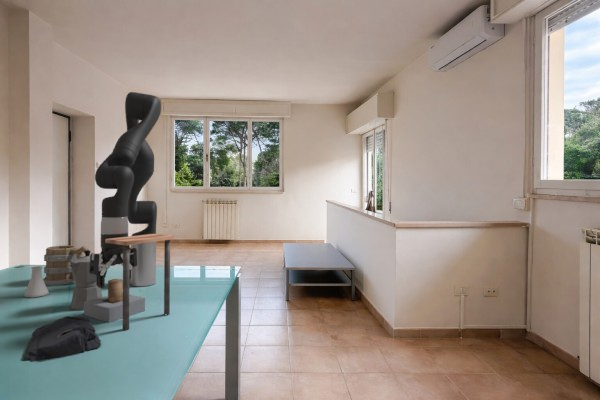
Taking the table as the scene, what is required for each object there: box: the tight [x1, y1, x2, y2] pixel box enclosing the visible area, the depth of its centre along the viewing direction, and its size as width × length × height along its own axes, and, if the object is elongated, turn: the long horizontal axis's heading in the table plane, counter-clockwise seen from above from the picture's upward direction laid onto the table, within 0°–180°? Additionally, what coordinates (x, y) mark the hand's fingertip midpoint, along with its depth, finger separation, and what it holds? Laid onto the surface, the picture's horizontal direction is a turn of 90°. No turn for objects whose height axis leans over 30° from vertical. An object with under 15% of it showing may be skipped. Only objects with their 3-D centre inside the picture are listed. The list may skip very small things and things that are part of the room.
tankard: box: [43, 244, 89, 286], centre depth 148 cm, size 20×13×15 cm, turn 68°
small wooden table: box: [105, 233, 175, 331], centre depth 107 cm, size 9×16×24 cm, turn 152°
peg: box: [107, 278, 123, 304], centre depth 113 cm, size 4×4×10 cm
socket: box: [83, 294, 146, 323], centre depth 113 cm, size 12×12×4 cm
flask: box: [23, 265, 50, 298], centre depth 130 cm, size 7×7×10 cm
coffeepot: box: [68, 249, 108, 311], centre depth 120 cm, size 15×9×18 cm, turn 162°
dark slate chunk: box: [22, 315, 102, 363], centre depth 92 cm, size 15×22×5 cm
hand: (114, 284), depth 113 cm, fingers open, 8 cm apart
